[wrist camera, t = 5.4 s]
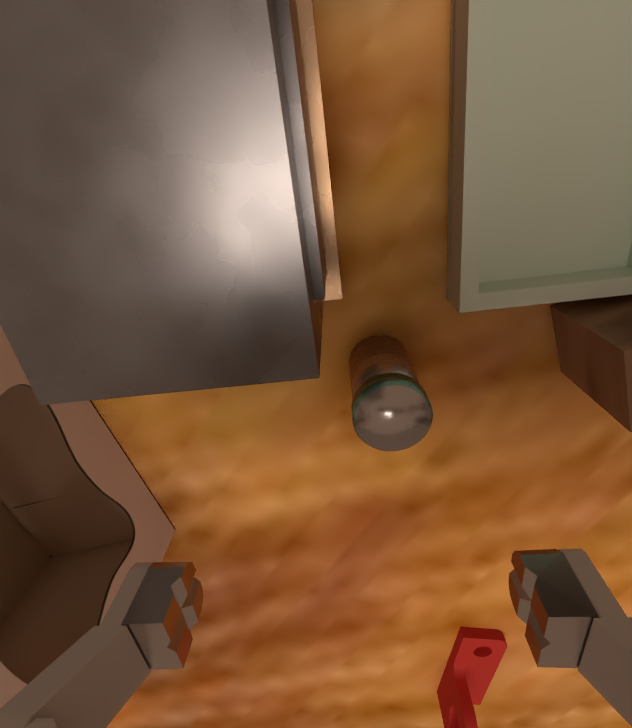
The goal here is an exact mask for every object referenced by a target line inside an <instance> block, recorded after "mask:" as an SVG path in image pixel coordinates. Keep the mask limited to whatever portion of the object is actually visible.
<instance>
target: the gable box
mask: <svg viewBox="0 0 632 728" xmlns="http://www.w3.org/2000/svg"><path fill="white" fill-rule="evenodd" d="M174 532H175V531H174V528H173V526H172V525H171V523H170V522H169V520H168V519H167V517H166V516H165V514H164V513H163V511H162V510H161V508H160V507H159V505H158V504H157V502H156V501H155V499H154V498H153V496H152V495H151V493H150V492H149V490H148V489H147V487H146V486H145V484H144V482H143V481H142V479H141V478H140V476H139V475H138V473H137V472H136V470H135V469H134V467H133V466H132V464H131V463H130V461H129V460H128V458H127V457H126V455H125V454H124V452H123V451H122V449H121V448H120V446H119V445H118V443H117V442H116V440H115V438H114V437H113V435H112V434H111V432H110V431H109V429H108V428H107V426H106V425H105V423H104V422H103V420H102V419H101V417H100V416H99V414H98V413H97V411H96V410H95V408H94V407H93V405H92V404H91V402H90V401H79V402H69V403H59V404H48V405H40V403H39V401H38V399H37V397H36V395H35V393H34V391H33V389H32V387H31V385H30V383H29V381H28V379H27V377H26V375H25V373H24V371H23V369H22V367H21V365H20V363H19V361H18V359H17V357H16V355H15V353H14V351H13V349H12V347H11V345H10V343H9V341H8V339H7V337H6V335H5V333H4V331H3V329H2V327H1V325H0V708H1V707H2V706H3V705H5V704H6V703H7V702H8V701H9V700H10V699H11V698H13V697H14V696H15V695H16V694H17V693H18V692H19V691H21V690H22V689H23V688H24V687H25V686H26V685H27V684H29V683H30V682H31V681H32V680H33V679H34V678H35V677H37V676H38V675H39V674H40V673H41V672H42V671H43V670H45V669H46V668H47V667H48V666H49V665H50V664H51V663H53V662H54V661H55V660H56V659H57V658H58V657H59V656H60V655H62V654H63V653H64V652H65V651H66V650H67V649H68V648H70V647H71V646H72V645H73V644H74V643H75V642H76V641H78V640H79V639H80V638H81V637H82V636H83V635H84V634H86V633H87V632H88V631H89V630H90V629H91V628H92V627H94V626H100V624H101V622H102V621H103V619H104V617H105V615H106V613H107V611H108V609H109V607H110V605H111V603H112V602H113V600H114V598H115V596H116V594H117V592H118V590H119V588H120V586H121V585H122V583H123V581H124V579H125V577H126V575H127V573H128V571H129V569H130V568H131V567H132V566H133V565H134V564H135V563H145V562H162V560H163V557H164V555H165V553H166V550H167V548H168V546H169V543H170V541H171V539H172V537H173V534H174ZM51 555H52V556H51Z"/></svg>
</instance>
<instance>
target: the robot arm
mask: <svg viewBox="0 0 632 728" xmlns="http://www.w3.org/2000/svg"><path fill="white" fill-rule="evenodd" d="M511 562H512V564H513V566H514V570H513V571H512V572H510V573H509V590H510V596H511V600H512V603H513V606H514V609H515V611H516V614H517V616H518V617H519V618H520V619H521V620H523V621H524V622H525V623H526V624H527V626H526V632H525V637H526V639H527V642H528V644H529V647H530V649H531V652H532V654H533V657H534V659H535V662H536V664H537V667H556V668H578V671H579V672H580V673H581V674H582V675H583V676H584V677H585V678H586V679H587V680H588V681H589V682H590V683H591V685H592V686H593V687H594V688H595V689H596V690H597V691H598V692H599V693H600V694H601V695H602V696H603V697H604V698H605V699H606V700H607V701H608V702H609V703H610V704H611V705H612V706H613V707H614V709H615V710H616V711H617V712H618V713H619V714H620V715H621V716H622V717H623V718H624V719H625V720H626V721H627V722H628V723H629V724H630V725H631V726H632V618H630V617H627V616H626V614H625V613H624V611H623V610H622V608H621V606H620V605H619V603H618V602H617V600H616V599H615V597H614V596H613V594H612V592H611V591H610V589H609V588H608V586H607V585H606V583H605V582H604V580H603V579H602V577H601V575H600V574H599V572H598V571H597V569H596V568H595V566H594V565H593V563H592V561H591V560H590V558H589V557H588V555H587V554H586V552H584V551H583V550H582V549H559V550H557V549H543V550H522V551H514V552H513V554H512V559H511ZM195 572H196V569H195V567H194V564H193V562H145V563H135V564H134V565H133V566H132V567H131V568H130V569H129V571H128V573H127V575H126V577H125V579H124V581H123V583H122V585H121V586H120V588H119V590H118V592H117V594H116V596H115V598H114V600H113V602H112V603H111V605H110V607H109V609H108V611H107V613H106V615H105V617H104V619H103V621H102V622H101V624H100V626H94V627H92V628H91V629H90V630H89V631H88V632H87V633H86V634H84V635H83V636H82V637H81V638H80V639H79V640H78V641H76V642H75V643H74V644H73V645H72V646H71V647H70V648H68V649H67V650H66V651H65V652H64V653H63V654H62V655H60V656H59V657H58V658H57V659H56V660H55V661H54V662H53V663H51V664H50V665H49V666H48V667H47V668H46V669H45V670H43V671H42V672H41V673H40V674H39V675H38V676H37V677H35V678H34V679H33V680H32V681H31V682H30V683H29V684H27V685H26V686H25V687H24V688H23V689H22V690H21V691H19V692H18V693H17V694H16V695H15V696H14V697H13V698H11V699H10V700H9V701H8V702H7V703H6V704H5V705H3V706H2V707H1V708H0V728H106V727H107V726H108V724H109V723H110V722H111V721H112V719H113V718H114V717H115V716H116V714H117V713H118V712H119V711H120V709H121V708H122V707H123V706H124V704H125V703H126V702H127V701H128V699H129V698H130V697H131V696H132V694H133V693H134V692H135V691H136V690H137V688H138V687H139V686H140V685H141V683H142V682H143V681H144V680H145V678H146V677H147V676H148V675H149V673H150V672H151V671H150V670H151V669H179V668H184V665H185V662H186V659H187V656H188V653H189V650H190V646H191V643H192V640H193V639H192V635H191V632H190V629H191V628H192V627H193V626H194V625H195V624H196V623H197V622H198V621H199V618H200V614H201V611H202V604H203V588H202V585H201V582H200V581H199V580H197V579H196V578H195V577H194V575H195Z"/></svg>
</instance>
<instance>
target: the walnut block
mask: <svg viewBox="0 0 632 728" xmlns="http://www.w3.org/2000/svg"><path fill="white" fill-rule="evenodd" d="M550 307H551V313H552V319H553V325H554V331H555V337H556V343H557V349H558V356H559V362H560V368H561V372H562V373H564V374H565V375H566V376H567V377H568V378H569V379H570V380H572V381H573V382H574V383H575V384H576V385H577V386H578V387H580V388H581V389H582V390H583V391H584V392H585V393H586V394H587V395H589V396H590V397H591V398H592V399H593V400H594V401H595V402H597V403H598V404H599V405H600V406H601V407H602V408H603V409H605V410H606V411H607V412H608V413H609V414H610V415H611V416H613V417H614V418H615V419H616V420H617V421H618V422H619V423H621V424H622V425H623V426H624V427H625V428H626V429H627V430H629V431H630V432H632V294H630V295H621V296H612V297H602V298H593V299H584V300H575V301H566V302H559V303H556V304H553V305H550Z"/></svg>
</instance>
